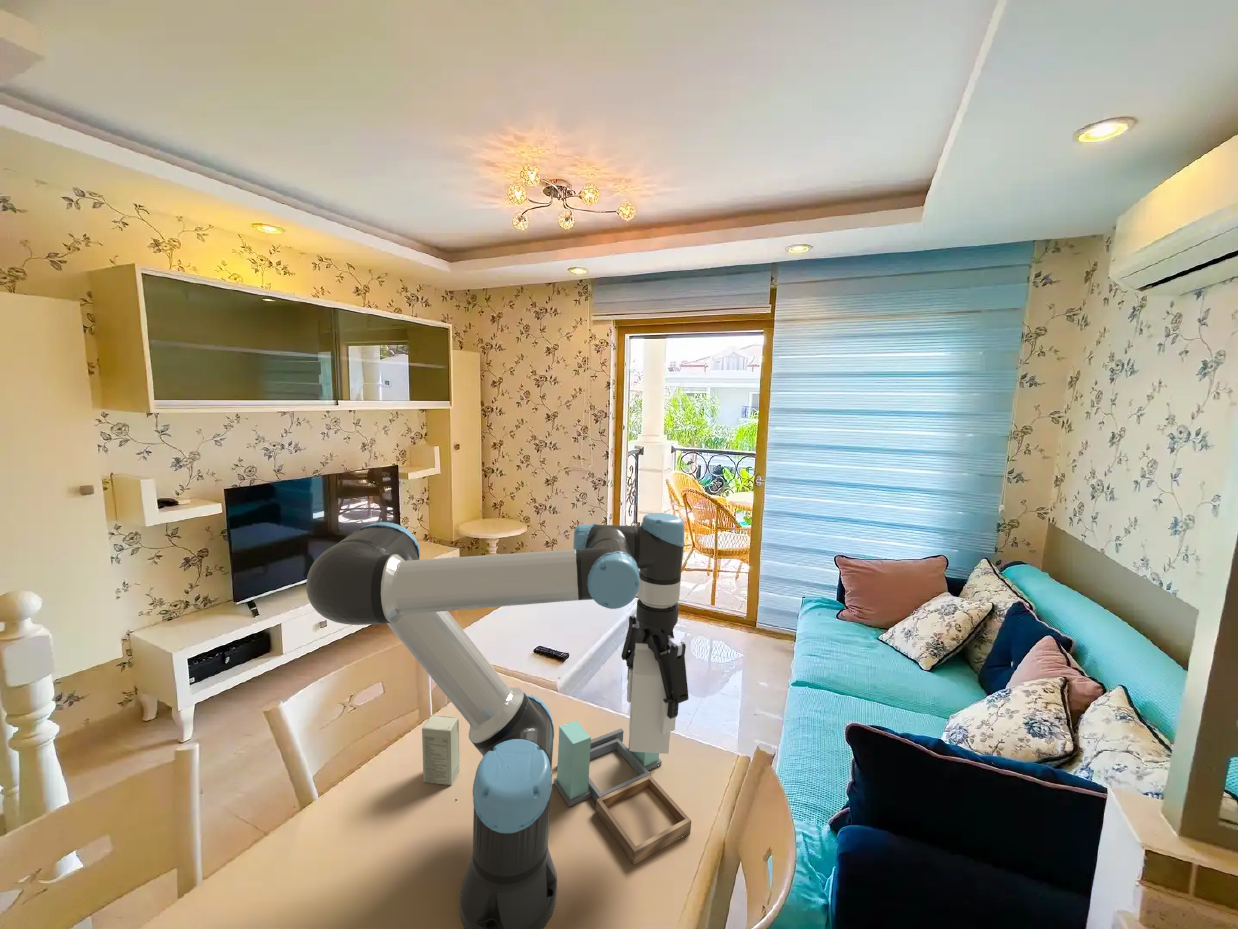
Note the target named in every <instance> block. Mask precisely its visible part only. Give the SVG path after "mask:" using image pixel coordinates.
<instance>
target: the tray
mask: <svg viewBox="0 0 1238 929" xmlns="http://www.w3.org/2000/svg"><path fill="white" fill-rule="evenodd" d="M595 813H596V814H597V816H598V817H599V819H600V820H601V821H602V822H603V823H604V825H605V827H606V828H607V830H608V831H609V832H610V833H611V835H612V837H613V838H614V839H615V841H616V842H617V843H618V845H619V847H620V848H621V850H622V851H623V852H624V854H625V855H626V857H627V858H628V859H629V861H630V862H631V864H632V865H633V866H634V865H636V864H639V863H640V862H642V861H643V860H645V859H647V858H649V857H651V856H652V855H654V854H656V853H657V852H659V851H661V850H663V849H665V848H666V847H668V846H670V845H672V844H673V843H675V842H676V840H677V841H678V839H679V838H680V839H682V838H683V837H682V836H684V835H686V834H687V835H689V834H691V830H692V828H691V827H692V820H691V818H690V817H689V816H688V815H687V813H685V811H684V810H682V808H681V807H680V806H679V805H678V804H677V803H676V802H675V800H673V798H671V797H670V795H669V794H668V793H667V792H666V791H665V790H664V789H663V788H662V786H661V785H660V784H659V783H658V782H657V781H656V780H655V778H654V777H653V776H652V775H648V776H646V777H644V778H642V779H640V780H638V781H635V782H633V783H631V784H629V785H627V786H624V787H622V788H620V789H618V790H616V791H614V792H611V793H609V794H607V795H605V796H603V797H600V798H598V799H596V801H595ZM688 833H689V834H688ZM687 835H686V836H687ZM681 837H682V838H681ZM684 837H685V836H684ZM680 839H679V840H680ZM674 841H675V842H674ZM671 843H672V844H671ZM664 847H665V848H664Z"/></svg>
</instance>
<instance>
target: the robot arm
mask: <svg viewBox="0 0 1238 929" xmlns="http://www.w3.org/2000/svg"><path fill="white" fill-rule="evenodd" d="M572 546H573V547H572V549H570V548H569V549H560V550H559V549H557V550H545V551H544V550H543V551H542V550H540V551H530V552H529V551H528V552H526V551H525V552H516V553H501V554H500V553H498V554H486V555H473V556H472V555H470V556H469V555H467V556H457V557H456V556H455V557H440V558H428V559H427V558H426V559H420V558H421V557H420V556H421V553H420V552H421V550H420V549H421V548H420V545H419V543H418V540H417V539H416V537H415V536H414V534H413V533H412V532H411V531H410V530H409V529H407V528H405V527H404V526H401V525H400V524H398V523H393V522H388V521H380V522H379V521H378V522H374V523H371V524H367V525H365V526H361V527H360V528H359V529H357V530H354V531H353V532H352V533H351V534H349V535H347V536H345V538H344V539H342V540H340V541H339V542H337V543H336V544H334V545H333V546H331V547H329V548H327V549H326V550H325V551H323V552H322V553H321V554H320V555H319V556H318V557H317V558H316V559H315V560H314V562H313V563H312V565H311V566H310V568H309V571H308V573H307V576H306V583H305V588H306V589H305V590H306V594H307V595H306V596H307V599H308V600H309V602H310V605H311V606H312V607H313V609H314V610H315V611H316V613H318V614H319V615H321V617H323V618H325V619H327V620H329V621H331V622H334V623H338V624H343V625H349V626H350V625H351V626H352V625H354V626H366V625H370V626H371V625H382V624H387V626H388V627H389V628H390V630H392V632H393V633H394V634H395V635H396V637H397V638H398V639H399V640H400V641H401V643H402V644H403V645H404V647H405V648H406V649H407V650H408V652H410V653H411V655H412V656H413V657H414V659H415V660H416V661H417V662H418V664H419V665H420V666H421V667H422V668H423V669H424V670H425V671H426V673H427V675H428V676H430V678H431V679H432V680H433V681H434V683H435V684H436V685H437V686H438V688H439V689H440V690H441V691H442V693H443V694H444V695H445V696H446V697H447V698H448V700H449V701H450V702H451V703H452V704H453V706H454V707H455V708H456V710H457V711H458V712H459V713H460V715H462V717H463V718H464V719H465V721H467V723H468V724H469V730H468V731H469V732H468V739H469V740H470V742H471V743H472V744H473V746H474V747H475V749H477V751H478V752H479V753H480V754H481V755H482V758H481V760H480V761H479V763H478V765H477V768H476V771H475V775H474V780H473V784H472V803H473V819H472V820H473V821H472V822H473V823H472V826H473V827H472V831H473V832H472V857H471V860H470V862H469V865H468V868H467V870H466V872H465V875H464V878H463V880H462V883H461V888H460V893H459V894H460V895H459V914H460V920H461V922H462V925H463V927H464V929H544V927H545V926H546V925H547V923H548V922H549V920H550V919H551V916H552V914H553V912H554V909H555V906H556V902H557V897H558V875H557V872H556V867H555V863H554V861H553V857H552V855H551V852H550V850H549V835H550V834H549V833H550V831H549V830H550V812H551V811H550V810H551V794H552V787H553V772H552V769H553V754H554V753H553V751H554V750H553V749H554V739H555V728H554V727H555V726H554V723H553V716H552V713H551V712H550V709H549V708H548V705H547V704H545V702H544V701H543V700H541V699H540V698H539V697H537V696H535V695H533V694H531V695H528V694H527V693H525V692H524V691H523V689H521V688H520V687H510V686H508V685H507V683H506V682H505V681H504V680H503V679H502V677H501V676H500V675H499V673H498V672H497V670H495V668H494V667H493V666H492V665H491V663H490V662H489V661H488V659H486V656H484V654H483V653H482V652H481V651H480V649H479V648H478V647H477V645H476V644H475V643H474V642H473V641H472V639H471V638H470V637H469V635H467V633H466V632H465V630H464V629H463V628H462V627H461V625H459V624H460V623H458V622H457V620H456V619H455V618H454V617H453V615H452V614H451V613H450V612H451V611H462V610H463V611H464V610H473V609H474V610H476V609H486V608H500V607H510V606H512V607H513V606H524V605H537V604H549V603H561V602H562V603H564V602H574V601H575V602H577V601H587V600H593V601H594V602H595V603H596V604H598V605H600V606H601V607H603V608H605V609H610V610H616V609H621V608H624V607H626V606H627V605H629V604H631V603H632V601H634V599H635V598H636V597H637V601H636V614H634V615H629V617H628V629H627V632H626V637H625V641H624V644H623V647H622V651H621V660H622V661H626V666H627V678H626V679H627V693H626V701H627V702H628V703H629V704H631V692H632V677H633V662H634V656H635V653H634V652H635V645H636V643H643V644H648V648H649V649H651V650H652V651H653V652H654V656H655V660H657V661H658V663H659V668H660V672H661V677H662V681H663V685H664V690H665V694H666V697H665V698H663V702H662V715H661V728H660V733H661V734H662V735H664V734H666V733H669V732H670V733H671V732H672V731H675V730H676V718H677V717H678V716H679V707H680V706H679V704H681V703H684V702H687V701H688V700H689V689H688V687H689V686H688V677H687V669H686V668H687V667H686V657H685V655H686V648H687V645H686V642H684V641H680V642H679V641H677V640H676V639H675V635H674V628H675V626H676V625H677V623H678V620H679V609H680V604H679V601H680V594H681V582H682V580H681V578H682V569H683V568H682V566H683V557H684V548H685V546H686V545H685V523H684V521H683V519H682V518H681V517H679V516H677V515H675V514H670V513H662V512H655V513H648V514H645V515H644V516H643V518H642V522H641V523H640V525H616V524H615V525H613V524H597V523H592V524H591V523H590V524H579V525H576V526H575V528H574V531H573V545H572ZM666 650H667V653H666V654H662V655H661V654H660V653H662V652H665V651H666ZM672 692H673V693H672Z"/></svg>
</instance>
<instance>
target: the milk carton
mask: <svg viewBox="0 0 1238 929" xmlns="http://www.w3.org/2000/svg"><path fill="white" fill-rule="evenodd" d="M634 653H635V656H634V662H633V677H632V692H631V702H630V707H629V708H630V712H629V723H628V724H629V725H628V727H629V728H628V729H629V730H628V731H629V732H628V733H629V734H628V748H629V751H634V752H648V753H659V754H665V755H666V754H669V751H670V740H671V732H669V733H666V734H664V735H662V734H661V733H660V728H661V715H662V702H663V698H665V697H666V694H665V690H664V685H663V681H662V677H661V672H660V668H659V663H658V661H657V660H655V656H654V652H653V651H652V650H651V649H649V648H648V644H643V643H636V645H635V652H634ZM666 653H667V650H666V651H665V652H662V653H660V654H661V655H662V654H666ZM672 693H673V692H672Z"/></svg>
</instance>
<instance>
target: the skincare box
mask: <svg viewBox="0 0 1238 929" xmlns="http://www.w3.org/2000/svg"><path fill="white" fill-rule="evenodd" d="M421 734H422V741H421V742H422V743H421V744H422V773H423V774H422V777H423V778H422V779H423V782H422V783H429V784H438V785H447V786H449V785H453V783H454V782H455V780H456V778H457V777H458V774H459V772H460V770H461V767H460V765H461V764H460V718H459V717H453V716H445V715H444V716H443V715H431V716H430V717H429V718H428V719H427V721H426V722H425V723H424V725H423V726H422V727H421Z"/></svg>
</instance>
